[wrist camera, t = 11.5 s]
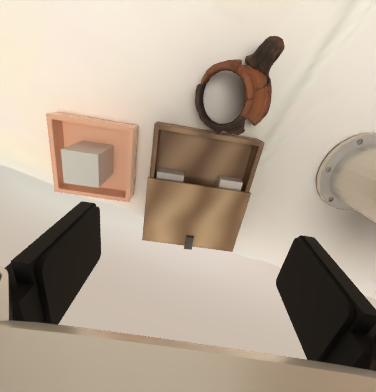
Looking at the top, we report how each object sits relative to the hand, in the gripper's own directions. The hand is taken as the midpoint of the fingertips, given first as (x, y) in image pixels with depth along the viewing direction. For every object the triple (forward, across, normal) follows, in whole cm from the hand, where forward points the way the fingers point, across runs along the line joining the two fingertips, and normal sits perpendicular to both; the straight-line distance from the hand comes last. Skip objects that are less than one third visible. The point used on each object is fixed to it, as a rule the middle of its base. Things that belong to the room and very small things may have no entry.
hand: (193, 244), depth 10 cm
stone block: (+23, +15, +4) cm, 27 cm away
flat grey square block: (+23, +3, +6) cm, 24 cm away
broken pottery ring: (+25, -4, -8) cm, 26 cm away
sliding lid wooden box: (+24, -1, +7) cm, 25 cm away
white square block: (+24, -6, +6) cm, 25 cm away
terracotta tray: (+23, +15, +4) cm, 28 cm away
